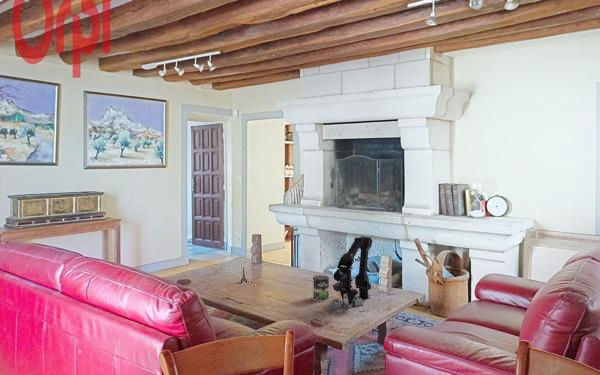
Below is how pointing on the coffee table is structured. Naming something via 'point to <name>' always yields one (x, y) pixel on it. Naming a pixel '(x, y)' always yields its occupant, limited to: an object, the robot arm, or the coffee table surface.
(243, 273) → the eiffel tower figurine
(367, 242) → the robot arm
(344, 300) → the cartridge
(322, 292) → the coffee can
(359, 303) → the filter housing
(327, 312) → the rubber pad
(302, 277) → the coffee table surface
